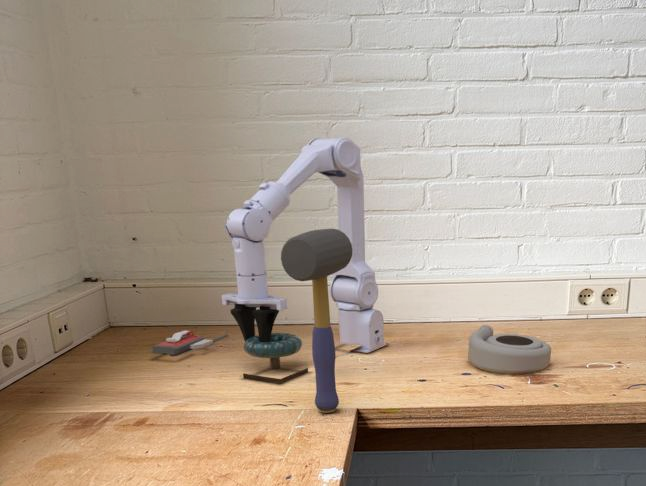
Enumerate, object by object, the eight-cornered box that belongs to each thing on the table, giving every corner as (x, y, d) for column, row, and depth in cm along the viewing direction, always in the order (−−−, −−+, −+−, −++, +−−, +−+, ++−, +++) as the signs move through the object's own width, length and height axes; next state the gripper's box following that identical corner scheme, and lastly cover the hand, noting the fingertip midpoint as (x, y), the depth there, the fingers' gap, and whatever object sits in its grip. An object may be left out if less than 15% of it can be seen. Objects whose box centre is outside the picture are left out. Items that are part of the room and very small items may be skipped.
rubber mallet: (329, 425, 128) (318, 234, 118) (289, 420, 131) (274, 233, 121) (363, 402, 139) (355, 226, 129) (325, 398, 142) (314, 225, 132)
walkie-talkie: (182, 363, 167) (232, 341, 185) (180, 343, 166) (230, 323, 184) (147, 361, 170) (199, 339, 188) (144, 340, 168) (197, 321, 186)
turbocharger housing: (536, 384, 151) (556, 364, 164) (540, 351, 148) (560, 333, 161) (453, 370, 157) (479, 352, 170) (455, 337, 155) (481, 322, 167)
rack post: (308, 372, 158) (306, 347, 157) (280, 384, 151) (278, 357, 149) (272, 367, 163) (270, 342, 161) (243, 378, 155) (240, 352, 154)
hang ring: (313, 349, 157) (312, 334, 156) (278, 362, 148) (277, 346, 147) (269, 343, 162) (267, 329, 161) (233, 356, 153) (231, 340, 152)
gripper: (208, 274, 152) (215, 344, 157) (268, 279, 145) (273, 351, 150) (232, 269, 158) (239, 336, 163) (291, 273, 151) (296, 343, 156)
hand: (257, 343), depth 157 cm, fingers closed on hang ring, 3 cm apart
